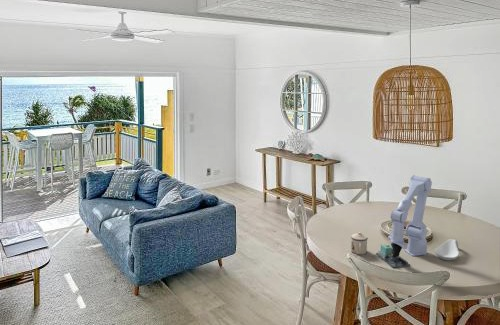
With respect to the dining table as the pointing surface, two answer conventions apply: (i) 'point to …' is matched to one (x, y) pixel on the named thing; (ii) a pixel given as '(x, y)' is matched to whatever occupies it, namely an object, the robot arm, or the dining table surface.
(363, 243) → the teacup with lid
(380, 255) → the press base
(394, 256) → the ram lever
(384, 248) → the block
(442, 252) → the spoon rest
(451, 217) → the dining table surface
